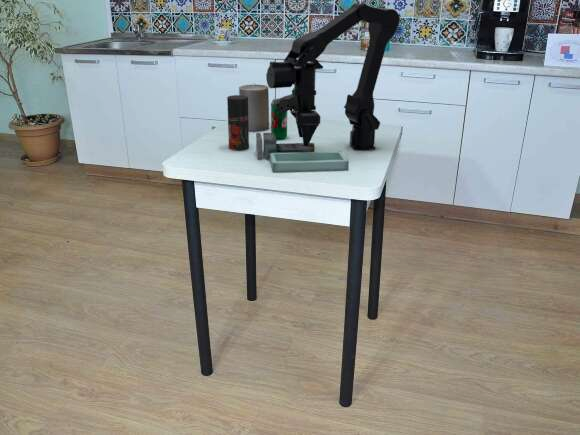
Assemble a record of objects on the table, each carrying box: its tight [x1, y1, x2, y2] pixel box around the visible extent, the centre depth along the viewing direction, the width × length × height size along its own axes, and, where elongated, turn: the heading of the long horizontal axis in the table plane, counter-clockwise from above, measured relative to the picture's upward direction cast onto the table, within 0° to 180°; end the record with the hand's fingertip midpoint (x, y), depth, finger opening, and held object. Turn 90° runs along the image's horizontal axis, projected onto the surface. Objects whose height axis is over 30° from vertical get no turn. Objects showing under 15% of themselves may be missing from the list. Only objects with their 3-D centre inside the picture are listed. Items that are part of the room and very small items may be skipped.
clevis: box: [255, 132, 278, 161], centre depth 155 cm, size 5×8×6 cm, turn 7°
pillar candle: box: [238, 82, 270, 133], centre depth 182 cm, size 10×10×15 cm
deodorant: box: [226, 94, 250, 152], centre depth 160 cm, size 6×6×15 cm
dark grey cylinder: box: [263, 142, 315, 156], centre depth 156 cm, size 14×3×3 cm, turn 97°
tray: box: [269, 150, 350, 173], centre depth 148 cm, size 20×9×2 cm, turn 97°
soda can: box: [270, 98, 288, 141], centre depth 171 cm, size 5×5×12 cm
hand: (303, 141), depth 156 cm, fingers open, 9 cm apart
